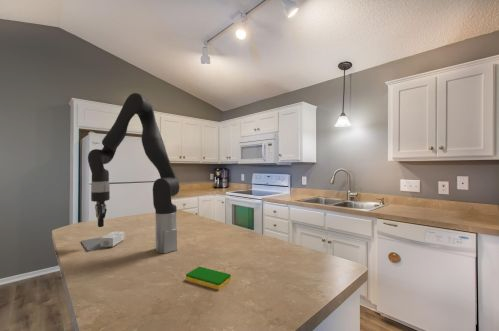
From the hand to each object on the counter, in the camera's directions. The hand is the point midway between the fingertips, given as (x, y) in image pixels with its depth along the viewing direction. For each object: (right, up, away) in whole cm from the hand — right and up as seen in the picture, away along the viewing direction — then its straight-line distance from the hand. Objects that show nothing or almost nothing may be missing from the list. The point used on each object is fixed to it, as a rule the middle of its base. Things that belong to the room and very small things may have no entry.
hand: (100, 226), depth 112 cm
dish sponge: (+58, -10, -34) cm, 68 cm away
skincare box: (+5, -7, -3) cm, 9 cm away
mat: (-4, -10, +4) cm, 11 cm away
